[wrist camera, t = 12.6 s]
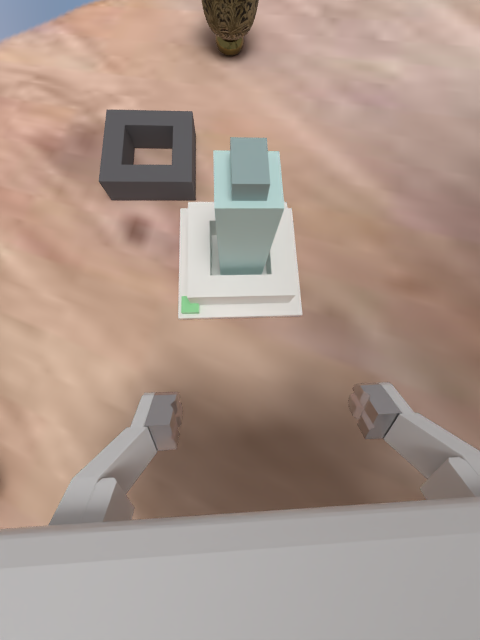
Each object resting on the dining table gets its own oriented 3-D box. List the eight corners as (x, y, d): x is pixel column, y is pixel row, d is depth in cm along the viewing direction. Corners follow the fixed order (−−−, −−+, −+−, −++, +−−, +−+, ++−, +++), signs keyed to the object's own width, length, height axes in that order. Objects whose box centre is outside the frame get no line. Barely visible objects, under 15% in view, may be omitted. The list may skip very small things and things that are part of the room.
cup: (262, 36, 31) (273, -76, 23) (251, 74, 29) (259, -33, 22) (209, 24, 31) (202, -92, 23) (195, 61, 29) (183, -50, 22)
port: (290, 211, 25) (298, 191, 22) (300, 316, 23) (311, 308, 20) (181, 212, 25) (175, 190, 22) (179, 319, 22) (172, 312, 19)
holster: (195, 134, 27) (192, 111, 24) (195, 200, 25) (191, 181, 22) (118, 133, 26) (106, 109, 24) (111, 200, 24) (98, 181, 22)
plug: (258, 241, 24) (283, 131, 13) (260, 277, 23) (289, 192, 12) (219, 242, 23) (212, 130, 12) (220, 278, 22) (212, 192, 12)
